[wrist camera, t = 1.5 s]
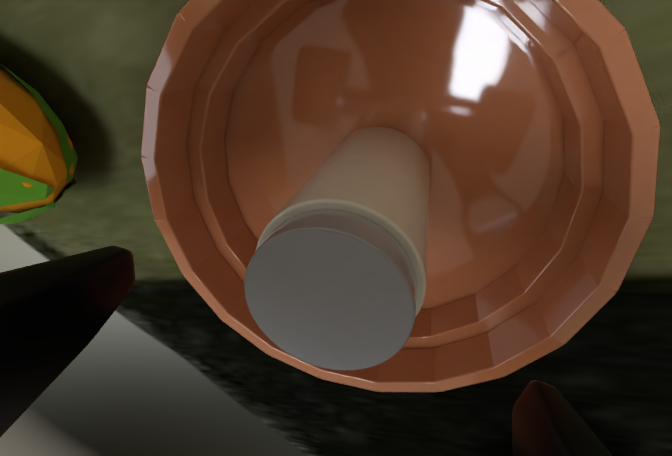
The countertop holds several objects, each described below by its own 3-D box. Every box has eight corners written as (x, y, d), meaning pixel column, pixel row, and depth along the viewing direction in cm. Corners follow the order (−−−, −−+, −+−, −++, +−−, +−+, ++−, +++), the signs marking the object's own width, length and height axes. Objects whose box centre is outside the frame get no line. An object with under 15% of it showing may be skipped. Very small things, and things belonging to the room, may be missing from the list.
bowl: (701, 163, 13) (808, 217, 9) (392, 367, 21) (382, 441, 17) (354, -189, 11) (310, -302, 7) (157, 182, 19) (87, 220, 15)
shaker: (455, 176, 15) (470, 315, 8) (382, 243, 17) (340, 401, 10) (371, 102, 14) (304, 175, 7) (307, 181, 17) (205, 299, 9)
